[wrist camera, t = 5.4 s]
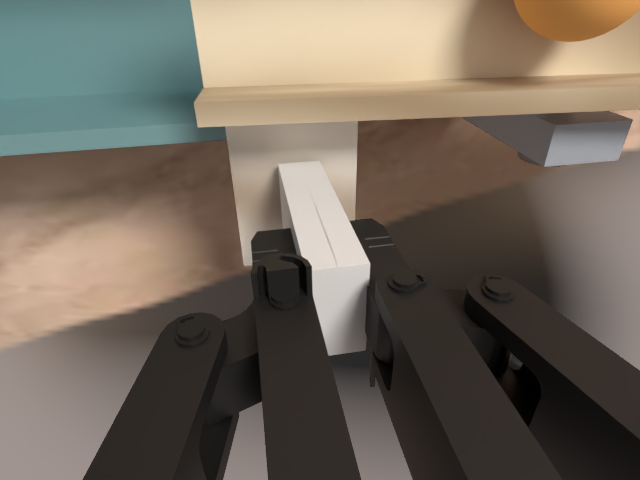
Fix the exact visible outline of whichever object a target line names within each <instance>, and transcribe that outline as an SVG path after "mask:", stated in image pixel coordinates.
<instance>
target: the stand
mask: <svg viewBox="0 0 640 480" xmlns="http://www.w3.org/2000/svg"><path fill="white" fill-rule="evenodd" d="M462 118H464V119H465V120H467V121H469V122H470V123H472V124H474V125H475V126H477V127H479V128H480V129H482V130H484V131H485V132H487V133H489V134H490V135H492V136H494V137H495V138H497V139H499V140H500V141H502V142H504V143H505V144H507V145H509V146H510V147H512V148H514V149H515V150H517V151H518V156H519V158H521V159H522V160H524V161H526V162H529V163H532V164H537V165H542V166H543V167H548V166H565V165H570V164H581V163H593V162H604V161H615V160H618V158H619V156H620V153H621V150H622V148H623V145H624V142H625V140H626V137H627V134H628V132H629V129H630V126H631V123H632V121H633V120H632V119H629V118H627V117H624V116H621V115H618V114H615V113H612V112H610V111H594V112H569V113H544V114H519V115H495V116H470V117H462Z"/></svg>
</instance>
